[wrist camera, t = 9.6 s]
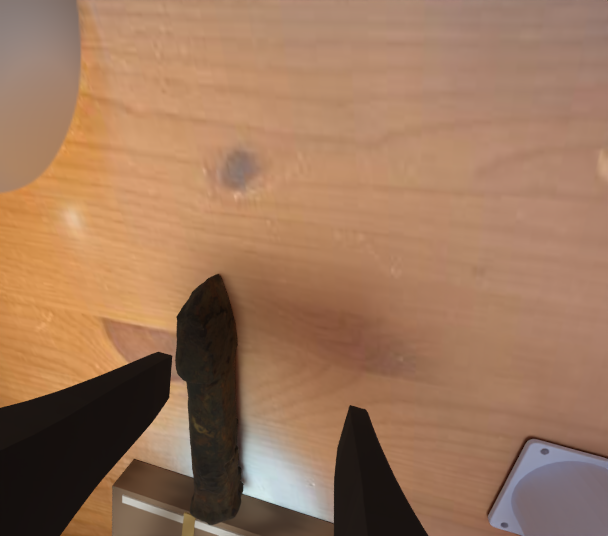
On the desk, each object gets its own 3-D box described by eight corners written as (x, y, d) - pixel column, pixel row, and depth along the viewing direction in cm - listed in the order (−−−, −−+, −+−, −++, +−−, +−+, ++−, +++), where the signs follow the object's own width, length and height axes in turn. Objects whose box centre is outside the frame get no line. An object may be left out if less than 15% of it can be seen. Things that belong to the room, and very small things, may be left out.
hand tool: (249, 483, 26) (228, 544, 21) (206, 473, 26) (176, 531, 22) (258, 276, 21) (233, 300, 16) (205, 270, 21) (166, 291, 17)
